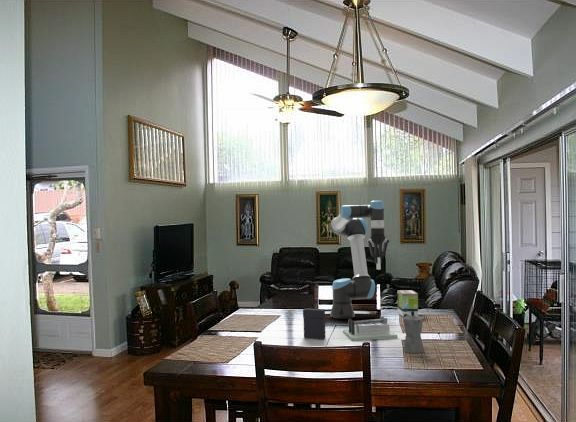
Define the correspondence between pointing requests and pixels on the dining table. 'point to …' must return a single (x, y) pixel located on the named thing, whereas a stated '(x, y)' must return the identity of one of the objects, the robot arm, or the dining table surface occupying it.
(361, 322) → the lever
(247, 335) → the dining table surface
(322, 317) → the calculator
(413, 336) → the coffeepot
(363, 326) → the knife switch
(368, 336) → the board
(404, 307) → the tea box
